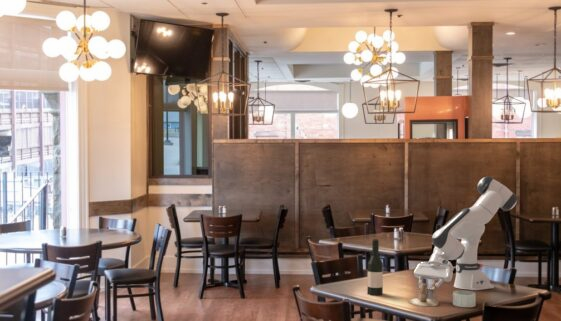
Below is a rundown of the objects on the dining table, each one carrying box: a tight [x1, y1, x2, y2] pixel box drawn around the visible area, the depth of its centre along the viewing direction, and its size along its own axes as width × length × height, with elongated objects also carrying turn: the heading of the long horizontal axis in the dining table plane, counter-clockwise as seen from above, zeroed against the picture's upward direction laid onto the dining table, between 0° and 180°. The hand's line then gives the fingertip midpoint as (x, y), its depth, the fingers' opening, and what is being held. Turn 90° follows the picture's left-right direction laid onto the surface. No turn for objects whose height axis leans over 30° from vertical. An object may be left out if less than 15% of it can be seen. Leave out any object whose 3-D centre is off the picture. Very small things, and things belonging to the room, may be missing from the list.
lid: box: [408, 283, 439, 308], centre depth 348 cm, size 15×15×10 cm
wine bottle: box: [366, 238, 384, 297], centre depth 368 cm, size 8×8×30 cm
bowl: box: [452, 290, 477, 308], centre depth 344 cm, size 11×11×6 cm
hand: (428, 285), depth 350 cm, fingers open, 8 cm apart
